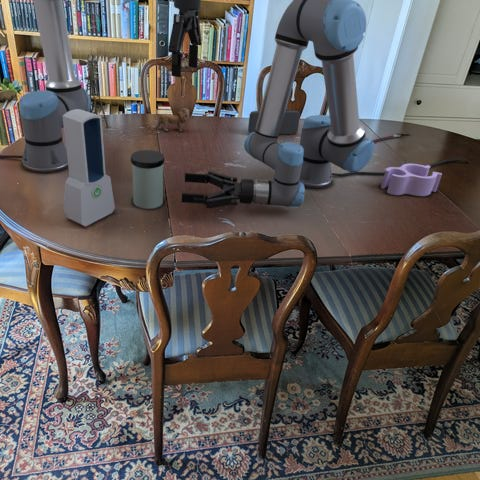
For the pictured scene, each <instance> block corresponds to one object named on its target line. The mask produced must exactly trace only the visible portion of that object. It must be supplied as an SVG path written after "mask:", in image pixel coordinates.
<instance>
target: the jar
mask: <svg viewBox="0 0 480 480" xmlns="http://www.w3.org/2000/svg"><path fill="white" fill-rule="evenodd" d="M131 168H132V169H131V170H132V195H133V196H132V199H133V204H134V206H136V207H137V208H140V209H143V210H145V209H146V210H151V209H157V208H159V207H161V206H162V205H163V203H164V164H163V165H161V166H159V167H156V168H140V167H137V166H135V165H133V164H132V163H131Z"/></svg>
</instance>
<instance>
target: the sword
mask: <svg viewBox="0 0 480 480" xmlns="http://www.w3.org/2000/svg"><path fill="white" fill-rule="evenodd" d="M401 134H402V133H396V134H392V135H389V136H383V137H379V138H376V139H372V141H373V143H374V144H375V143H377V142H381V141H384V140H389V139H393V138H400V137H402V136H406V135H409V134H404V135H401Z"/></svg>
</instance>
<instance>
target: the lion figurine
mask: <svg viewBox="0 0 480 480" xmlns="http://www.w3.org/2000/svg"><path fill="white" fill-rule="evenodd" d="M189 118H190V109H188V108H186V107H184V108H181V109H180V111H178V112H177V113H175V114H169V113H162V114H160V116H159V118H158V121H157V124H156V127H154V130H157V129H162V128H163V130H164V131H165V132H168V131H169V130H168V129H167V128H166V127H167V124H168V123H169V124H172V125H176V129H177V130H178V132H183V129H182V125H183V124H186V122H187V121H188V120H189ZM161 125H162V126H161Z"/></svg>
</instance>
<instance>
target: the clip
mask: <svg viewBox="0 0 480 480" xmlns="http://www.w3.org/2000/svg"><path fill="white" fill-rule="evenodd" d="M429 165H430V164H427V165H423V164H418V163H404V164H402V165H401V166H398V167H397V166H389V167H386V168H385V171H384V172H385V175H383V178H382V182H381V184H380V185H381V186H380V189H382V190H383V189H384V190H385V189H386V188H387V190H386V194H388V195H392V196H402V195H411V196H416V197H426V196H429V195H431V194H432V192H433V193H436V192H437V190H438V187H439V184H440V181H441V178H442V175H443V173H441V172H438V171H432V172H431V175H429V176H428V174H429V172H430V169H431V167H430V166H429Z"/></svg>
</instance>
